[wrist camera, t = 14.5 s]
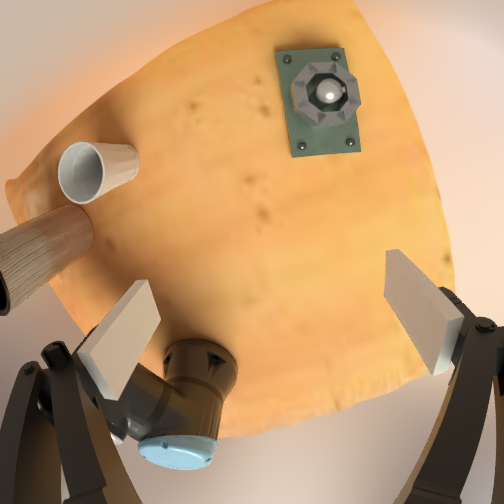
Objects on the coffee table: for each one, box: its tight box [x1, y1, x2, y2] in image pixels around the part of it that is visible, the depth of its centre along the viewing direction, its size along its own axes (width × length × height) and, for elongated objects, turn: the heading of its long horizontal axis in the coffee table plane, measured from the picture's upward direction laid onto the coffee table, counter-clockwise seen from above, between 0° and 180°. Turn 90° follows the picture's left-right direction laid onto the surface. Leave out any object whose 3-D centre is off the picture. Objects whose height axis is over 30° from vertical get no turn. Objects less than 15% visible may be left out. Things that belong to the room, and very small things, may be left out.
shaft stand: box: [275, 48, 361, 158], centre depth 32 cm, size 10×16×9 cm, turn 9°
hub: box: [289, 62, 361, 127], centre depth 32 cm, size 8×8×6 cm
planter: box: [0, 204, 93, 316], centre depth 35 cm, size 10×10×23 cm
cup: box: [58, 141, 140, 204], centre depth 35 cm, size 8×8×12 cm
